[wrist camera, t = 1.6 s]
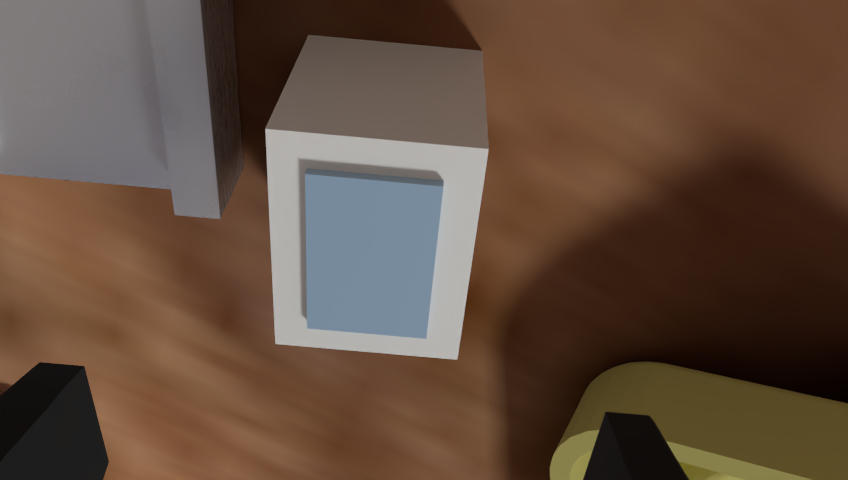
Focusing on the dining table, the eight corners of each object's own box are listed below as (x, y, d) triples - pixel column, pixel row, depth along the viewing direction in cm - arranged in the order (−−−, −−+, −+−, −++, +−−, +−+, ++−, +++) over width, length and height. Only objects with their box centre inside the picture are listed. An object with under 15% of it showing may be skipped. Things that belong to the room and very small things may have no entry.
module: (310, 222, 19) (273, 350, 15) (308, 33, 16) (262, 133, 12) (457, 235, 19) (457, 366, 15) (482, 49, 16) (488, 155, 13)
